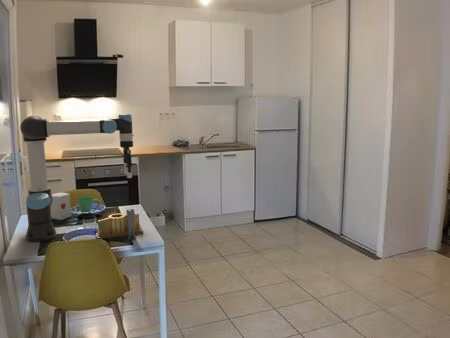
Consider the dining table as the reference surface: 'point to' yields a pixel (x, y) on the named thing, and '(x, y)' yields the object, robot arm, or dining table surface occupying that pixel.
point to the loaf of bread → (116, 226)
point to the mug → (86, 203)
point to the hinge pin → (131, 224)
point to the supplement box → (60, 206)
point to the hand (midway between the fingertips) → (128, 175)
